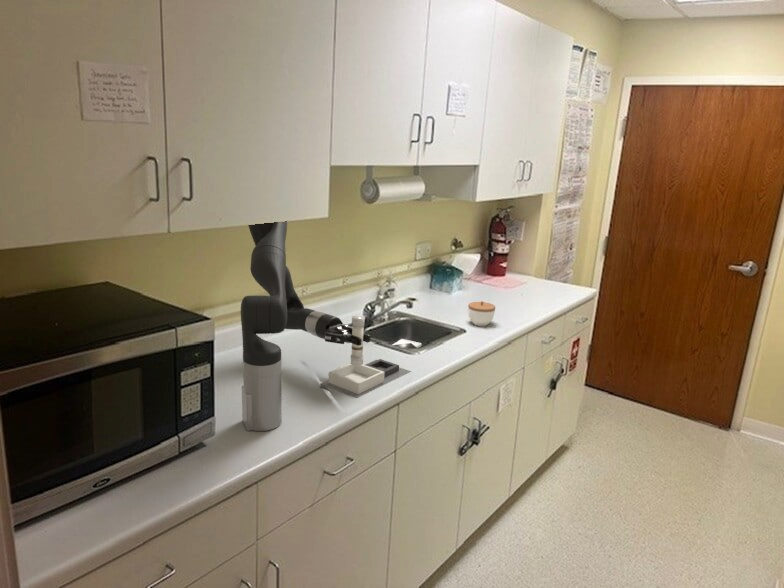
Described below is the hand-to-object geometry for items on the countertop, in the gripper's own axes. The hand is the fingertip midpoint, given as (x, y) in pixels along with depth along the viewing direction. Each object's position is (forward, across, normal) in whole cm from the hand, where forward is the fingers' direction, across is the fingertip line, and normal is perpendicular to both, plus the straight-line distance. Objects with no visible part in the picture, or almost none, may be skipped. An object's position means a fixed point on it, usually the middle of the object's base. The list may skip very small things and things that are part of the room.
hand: (365, 340), depth 166 cm
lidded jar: (-10, +80, +16) cm, 82 cm away
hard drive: (-13, +35, +16) cm, 40 cm away
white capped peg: (-3, 0, +8) cm, 8 cm away
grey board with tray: (-3, +5, +15) cm, 16 cm away
